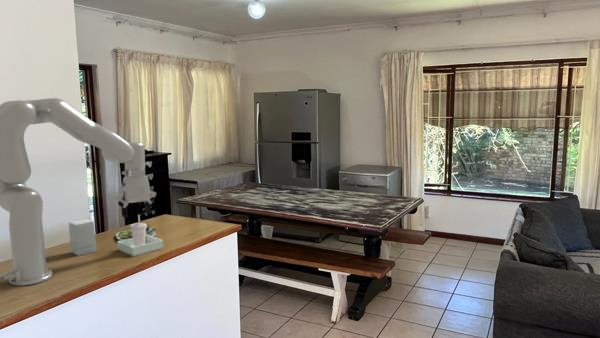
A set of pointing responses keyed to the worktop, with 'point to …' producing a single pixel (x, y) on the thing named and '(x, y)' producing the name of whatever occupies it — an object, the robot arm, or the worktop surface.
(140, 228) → the smoothie
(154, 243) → the bin
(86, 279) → the worktop surface
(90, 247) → the supplement box
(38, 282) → the robot arm
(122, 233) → the avocado toast plate
